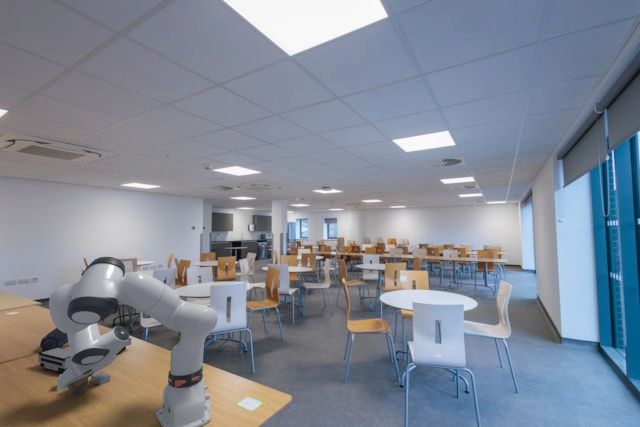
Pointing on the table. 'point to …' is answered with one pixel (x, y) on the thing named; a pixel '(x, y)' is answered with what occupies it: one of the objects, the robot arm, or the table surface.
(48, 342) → the portable speaker
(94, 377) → the grey flat brick
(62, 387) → the sage cube
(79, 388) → the walnut column
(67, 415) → the table surface
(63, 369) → the game console
